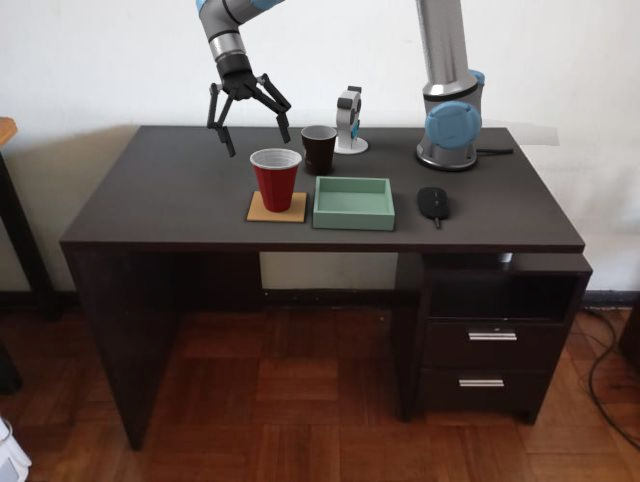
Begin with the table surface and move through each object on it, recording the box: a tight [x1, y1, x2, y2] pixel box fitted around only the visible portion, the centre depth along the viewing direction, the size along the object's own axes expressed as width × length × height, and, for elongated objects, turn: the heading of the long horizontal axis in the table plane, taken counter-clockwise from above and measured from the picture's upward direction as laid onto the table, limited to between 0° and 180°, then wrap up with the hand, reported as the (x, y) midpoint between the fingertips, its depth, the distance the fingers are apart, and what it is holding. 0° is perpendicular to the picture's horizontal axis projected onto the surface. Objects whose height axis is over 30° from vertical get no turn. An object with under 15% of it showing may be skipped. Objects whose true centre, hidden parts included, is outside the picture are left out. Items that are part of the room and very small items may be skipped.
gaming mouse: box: [417, 186, 449, 229], centre depth 110 cm, size 6×15×4 cm, turn 177°
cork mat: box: [246, 190, 307, 224], centre depth 111 cm, size 12×12×1 cm
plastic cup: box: [249, 148, 303, 212], centre depth 108 cm, size 11×11×12 cm
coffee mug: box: [300, 124, 338, 176], centre depth 125 cm, size 12×9×10 cm
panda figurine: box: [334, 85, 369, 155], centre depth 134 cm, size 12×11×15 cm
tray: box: [312, 175, 396, 231], centre depth 110 cm, size 17×16×4 cm
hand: (261, 149), depth 115 cm, fingers open, 13 cm apart
